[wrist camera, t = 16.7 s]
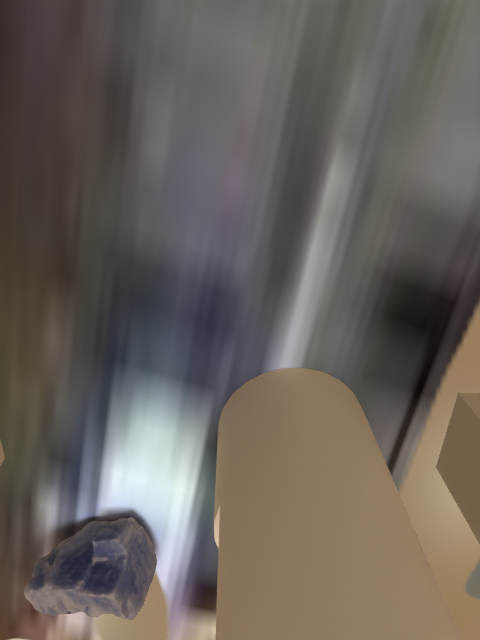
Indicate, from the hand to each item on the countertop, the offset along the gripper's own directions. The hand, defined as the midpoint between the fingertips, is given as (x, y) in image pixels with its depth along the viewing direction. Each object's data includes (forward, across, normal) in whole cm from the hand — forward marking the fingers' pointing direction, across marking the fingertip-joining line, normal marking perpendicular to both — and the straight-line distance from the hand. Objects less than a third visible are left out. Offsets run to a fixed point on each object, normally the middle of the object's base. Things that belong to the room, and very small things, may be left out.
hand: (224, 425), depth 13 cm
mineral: (+32, -16, -44) cm, 57 cm away
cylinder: (+32, +8, -26) cm, 42 cm away
